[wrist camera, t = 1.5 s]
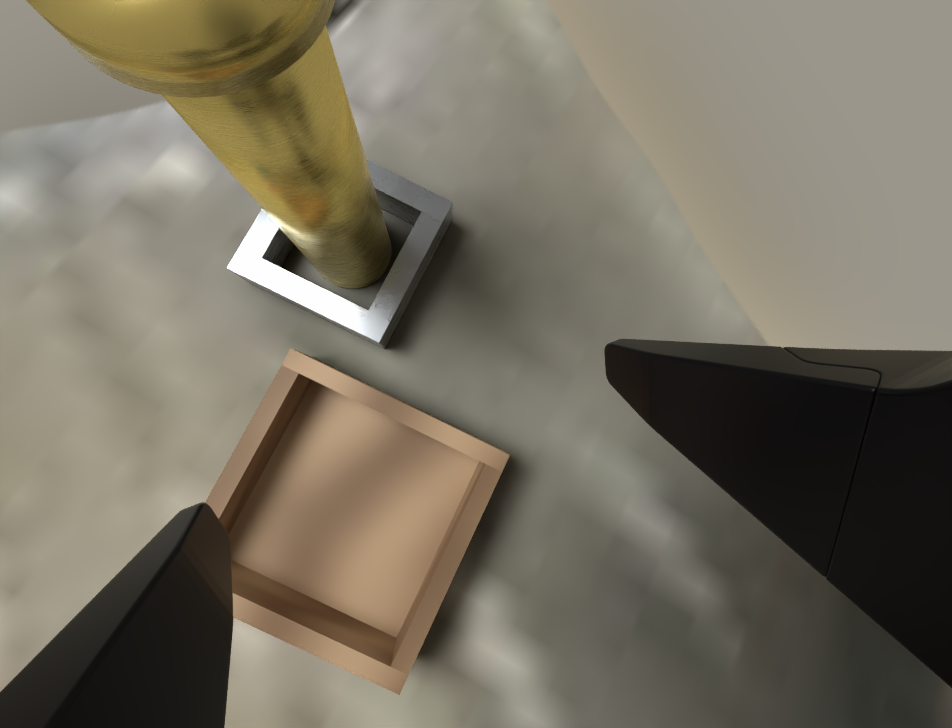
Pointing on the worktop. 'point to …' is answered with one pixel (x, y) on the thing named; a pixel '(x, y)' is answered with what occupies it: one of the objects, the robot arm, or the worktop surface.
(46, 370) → the worktop surface
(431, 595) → the tray
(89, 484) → the worktop surface
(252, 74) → the pin
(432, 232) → the block
